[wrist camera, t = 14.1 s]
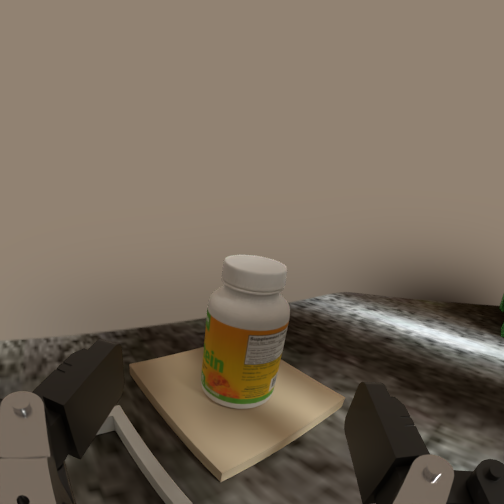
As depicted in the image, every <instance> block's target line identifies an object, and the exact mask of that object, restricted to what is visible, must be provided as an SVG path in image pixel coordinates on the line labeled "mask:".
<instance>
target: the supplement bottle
mask: <svg viewBox="0 0 504 504" xmlns="http://www.w3.org/2000/svg"><path fill="white" fill-rule="evenodd" d="M286 275H287V267H286V266H285V265H284V264H283V263H281V262H279V261H276V260H273V259H270V258H265V257H261V256H254V255H232V256H228V257H226V258H225V260H224V264H223V271H222V282H223V284H224V285H225V286H223V287H220V288H218V289H216V290H215V291H214V292H213V293H212V294H211V296H210V298H209V301H208V308H207V319H206V329H205V341H204V351H203V362H202V373H201V385H202V389H203V391H204V392H205V394H206V395H207V396H208V397H209V398H210V399H212V400H213V401H215V402H216V403H218V404H220V405H223V406H226V407H230V408H235V409H248V408H254V407H257V406H260V405H262V404H263V403H265V402H266V401H267V400H268V399H269V398H270V397H271V395H272V393H273V390H274V386H275V382H276V378H277V373H278V369H279V365H280V360H281V356H282V351H283V347H284V342H285V337H286V332H287V327H288V323H289V317H290V307H289V304H288V302H287V301H286V299H285V298H284V297H283V296H282V295H280V294H279V293H280V292H282V291H283V289H284V286H285V282H286Z"/></svg>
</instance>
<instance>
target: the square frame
mask: <svg viewBox="0 0 504 504" xmlns="http://www.w3.org/2000/svg"><path fill="white" fill-rule="evenodd" d="M115 430H116V432H117V434H118V435H119V437H120V439H121V440H122V442H123V444H124V445H125V447H126V448H127V450H128V452H129V453H130V455H131V456H132V458H133V459H134V461H135V462H136V464H137V465H138V467H139V468H140V470H141V471H142V473H143V474H144V476H145V477H146V478H147V480H148V481H149V483H150V484H151V485H152V487H153V488H154V489H155V491H156V492H157V493H158V495H159V496H160V497H161V499H162V500H163V501H164V503H165V504H193V503H192V502H191V501H190V500H189V499H188V498H187V497H186V495H185V494H184V493H183V492H182V491H181V490H180V488H179V487H178V486H177V485H176V484H175V482H174V481H173V480H172V479H171V477H170V476H169V475H168V474H167V472H166V471H165V470H164V469H163V467H162V466H161V465H160V463H159V462H158V461H157V459H156V458H155V457H154V455H153V454H152V453H151V451H150V450H149V448H148V447H147V446H146V444H145V443H144V441H143V440H142V439H141V437H140V436H139V434H138V433H137V431H136V430H135V428H134V427H133V425H132V424H131V422H130V421H129V419H128V418H127V416H126V414H125V413H124V411H123V410H122V408H121V406H120V405H118V406H114V408H113V409H112V411H111V413H110V414H109V416H108V417H107V419H106V420H105V422H104V423H103V425H102V426H101V428H100V430H99V431H98V433H97V434H96V435H98V434H103V433H107V432H111V431H115Z"/></svg>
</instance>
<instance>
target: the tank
mask: <svg viewBox="0 0 504 504" xmlns="http://www.w3.org/2000/svg"><path fill="white" fill-rule="evenodd" d="M500 310H501V311H503V312H504V295H503V298H502V301H501V304H500ZM501 337H504V322H503V325H502V328H501Z"/></svg>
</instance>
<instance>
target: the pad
mask: <svg viewBox="0 0 504 504" xmlns="http://www.w3.org/2000/svg"><path fill="white" fill-rule="evenodd" d="M203 351H204V347H201V348H198V349H194V350H190V351H185V352H181V353H177V354H173V355H169V356H164V357H160V358H156V359H151V360H147V361H142V362H137V363H133V364H129V367H130V375H131V376H132V378H133V379H134V381H135V382H136V383H137V385H138V386H139V388H140V389H141V390H142V392H143V393H144V394H145V396H146V397H147V398H148V400H149V401H150V402H151V404H152V405H153V406H154V408H155V409H156V410H157V411H158V413H159V414H160V415H161V416H162V418H163V419H164V420H165V421H166V423H167V424H168V425H169V426H170V427H171V429H172V430H173V431H174V432H175V433H176V435H177V436H178V437H179V438H180V439H181V440H182V442H183V443H184V444H185V445H186V446H187V447H188V448H189V450H190V451H191V452H192V453H193V454H194V455H195V456H196V457H197V458H198V459H199V460H200V462H201V463H202V464H203V465H204V466H205V467H206V468H207V469H208V470H209V471H210V472H211V473H212V474H213V475H214V476H215V477H216V478H217V479H218V480H219V481H220V482H222V481H224V480H226V479H228V478H230V477H232V476H234V475H236V474H238V473H240V472H241V471H243V470H245V469H247V468H249V467H251V466H252V465H254V464H256V463H258V462H259V461H261V460H263V459H265V458H266V457H268V456H270V455H271V454H273V453H275V452H276V451H278V450H280V449H281V448H283V447H284V446H286V445H288V444H289V443H291V442H292V441H294V440H295V439H297V438H298V437H300V436H301V435H303V434H304V433H306V432H307V431H309V430H310V429H312V428H313V427H315V426H316V425H317V424H319V423H320V422H322V421H323V420H324V419H326V418H327V417H329V416H330V415H331V414H333V413H334V412H335V411H337V410H338V409H339V408H341V407H342V404H343V402H344V399H345V397H343V396H342V395H340V394H338V393H336V392H335V391H333V390H331V389H329V388H328V387H326V386H324V385H323V384H321V383H319V382H317V381H316V380H314V379H312V378H311V377H309V376H307V375H306V374H304V373H302V372H301V371H299V370H297V369H296V368H294V367H293V366H291V365H289V364H288V363H286V362H284V361H283V360H280V365H279V369H278V373H277V378H276V382H275V386H274V390H273V393H272V395H271V397H270V398H269V399H268V400H267V401H266V402H265V403H263V404H262V405H260V406H257V407H254V408H248V409H235V408H230V407H226V406H223V405H220V404H218V403H216V402H215V401H213V400H212V399H210V398H209V397H208V396H207V395H206V394H205V392H204V391H203V389H202V385H201V373H202V362H203Z"/></svg>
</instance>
